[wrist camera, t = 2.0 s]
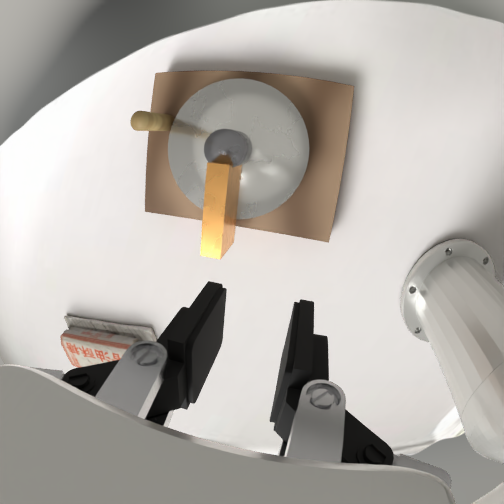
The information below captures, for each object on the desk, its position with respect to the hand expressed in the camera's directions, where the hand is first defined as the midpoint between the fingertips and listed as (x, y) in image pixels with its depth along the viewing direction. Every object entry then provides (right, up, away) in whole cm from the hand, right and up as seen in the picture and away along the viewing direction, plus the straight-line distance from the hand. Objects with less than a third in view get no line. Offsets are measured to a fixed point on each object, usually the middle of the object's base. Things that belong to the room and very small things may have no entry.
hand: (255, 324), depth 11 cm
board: (-1, +13, +14) cm, 19 cm away
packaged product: (-21, -12, +28) cm, 37 cm away
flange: (-2, +11, +12) cm, 16 cm away
